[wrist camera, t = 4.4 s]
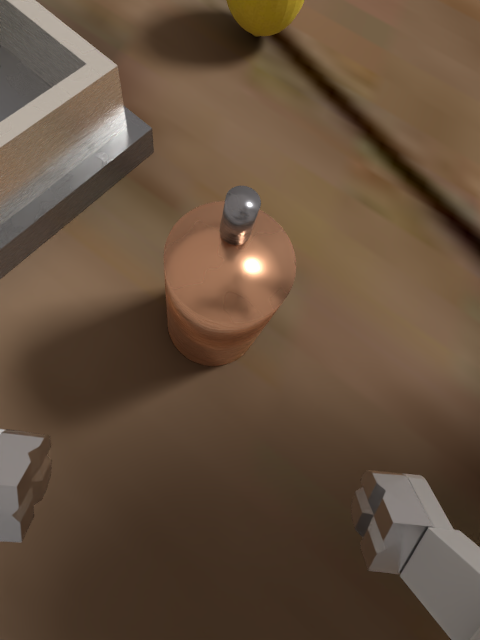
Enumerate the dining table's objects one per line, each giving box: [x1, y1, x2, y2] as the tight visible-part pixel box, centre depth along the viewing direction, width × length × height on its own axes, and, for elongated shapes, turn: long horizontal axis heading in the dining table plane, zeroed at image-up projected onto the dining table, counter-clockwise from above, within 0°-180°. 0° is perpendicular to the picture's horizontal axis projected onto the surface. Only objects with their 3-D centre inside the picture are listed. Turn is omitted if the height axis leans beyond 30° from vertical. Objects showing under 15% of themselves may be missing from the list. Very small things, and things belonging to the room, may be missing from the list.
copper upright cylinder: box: [164, 186, 296, 366], centre depth 18 cm, size 5×5×10 cm
